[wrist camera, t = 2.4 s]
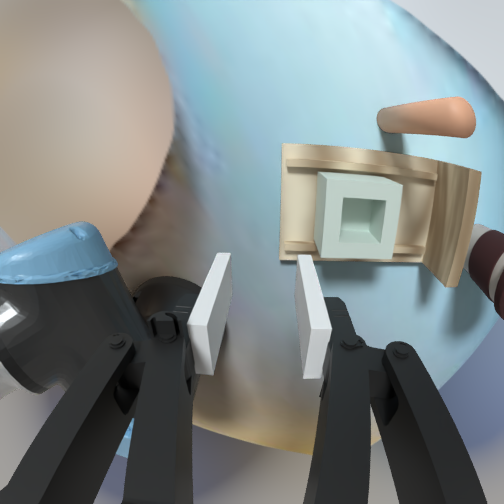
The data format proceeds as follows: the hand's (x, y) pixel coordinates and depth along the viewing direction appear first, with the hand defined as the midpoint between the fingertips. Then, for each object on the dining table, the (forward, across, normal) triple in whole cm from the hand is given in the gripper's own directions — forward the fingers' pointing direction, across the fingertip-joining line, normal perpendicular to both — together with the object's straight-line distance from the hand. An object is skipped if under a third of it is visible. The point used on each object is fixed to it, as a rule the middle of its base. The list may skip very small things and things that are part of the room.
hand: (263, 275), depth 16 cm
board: (+19, +12, 0) cm, 22 cm away
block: (+17, +10, 0) cm, 20 cm away
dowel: (+19, +14, +11) cm, 26 cm away
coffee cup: (+19, +32, -5) cm, 37 cm away
